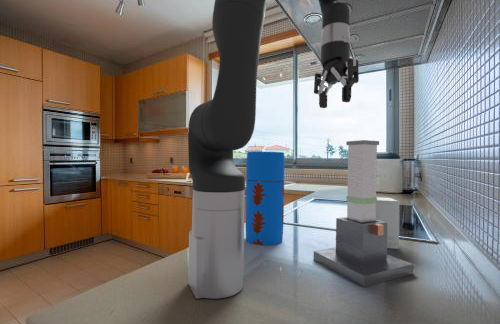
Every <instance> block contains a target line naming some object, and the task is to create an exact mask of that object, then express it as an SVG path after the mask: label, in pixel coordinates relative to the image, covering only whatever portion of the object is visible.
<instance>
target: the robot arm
mask: <svg viewBox="0 0 500 324" xmlns="http://www.w3.org/2000/svg"><path fill="white" fill-rule="evenodd" d="M317 2H318V4H319V8H320V12H321V17H322V18H321V19H322V20H321V22H322V23H321V27H322V28H321V36H320V37H321V38H320V64H321V65H322V71H321V72H320V73H319V72H315V73H314V81H313V82H314V83H313V85H314V87H313V94H315V95H318V104H319V106H318V107H319V108H321V109H326V108H328V92H329V91H330V89H332V87H333V85H336V84H338V83H341V86H342V87H341V102H342V103H350V102H351V100H352V87H353V86H354V84H358V83H359V81H360V80H359V77H360V75H359V60H358V59H355V58H353V57H351V55H350V51H351V50H350V49H351V46H350V45H351V34H350V33H351V32H350V8H349V6H348V4H346V2H340V1H339V2H338V0H317ZM213 5H214V6H213V12H212V18H211V19H212V21H211V22H212V34H213V37H214V42H215V44H216V48H217V52H218V56H219V57H218V58H219V68H218V73H217V80H216V84H215V89H214V93H213V98H212V99H210V100H208V101H205V102H202V103H201V104H199V105H197V106H195V108H194V109H193V111H192V112H191V114H190V117H189V119H188V121H189V122H188V127H187V131H188V132H187V150H188V152H187V153H188V155H187V157H188V170H189V174H190V176H191V180H192V211H191V212H192V213H191V215H192V217H191V220H192V221H191V222H192V223H191V230H188V231H189V232H188V269H187V272H188V274H187V275H188V277H187V283H188V285H189V287H190V289H191V291H192V293H193V295H194V297H195V299H203V298H204V299H214V300H215V299H225V298H229V297H233V296H235V295H236V294H238V293H239V292H241V291H242V289H244V288H243V287H244V276H245V271H244V267H245V265H244V259H245V258H244V256H245V255H244V254H245V206H246V176H245V175H244V173H243V172H242V171H241V170H240V169H239V168H238V167H237V166H236V164H235V161H234V151H237V150H240V149H243V148H244V147H245V146H247V145H248V144H249V142H250V140H251V138H252V137H253V134H254V131H255V124H256V115H257V114H256V112H257V83H258V80H257V79H258V78H257V77H258V66H259V59H260V51H261V50H260V49H261V41H262V35H263V29H264V23H265V16H266V15H265V14H266V8H267V0H214V4H213Z"/></svg>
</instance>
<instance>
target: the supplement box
mask: <svg viewBox="0 0 500 324" xmlns="http://www.w3.org/2000/svg"><path fill="white" fill-rule="evenodd" d="M376 198H377V203H376V220H379V221H384V222H388V223H387V249H395V250H399V249H400V204H401V203H400V200H396V199H394V198H391V197H377V196H376Z"/></svg>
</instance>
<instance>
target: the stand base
mask: <svg viewBox="0 0 500 324" xmlns="http://www.w3.org/2000/svg"><path fill="white" fill-rule="evenodd" d="M335 220H336V221H335V222H336V223H335V247H330V248H324V249H319V250H318V249H317V250H313V259H312V260H313V261H315V262H317V263H318V264H321V265H322V266H325V267H326V268H328V269H329V270H331V271H333V272H335V273H337V274H339V275H340V276H343V277H345V278H347V280H350V281H352V282H354V283H356V284H358V285H359V286H361V287H363V288H366V287H370V286H373V285H377V284H382V283H385V282H389V281H392V280H396V279H399V278H403V277H406V276H410V275H413V274H414V263H411V262H409V261H406V260H403V259H400V258H398V257H395V256H394V255H393V256H392V255H390V254H388V248H387V223H388V222H384V221H379V220H376V222H375V223H367V224H361V223H357V222H353V221H350V220H347V216H344V217H336V219H335Z"/></svg>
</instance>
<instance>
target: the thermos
mask: <svg viewBox="0 0 500 324" xmlns="http://www.w3.org/2000/svg"><path fill="white" fill-rule="evenodd" d="M245 170H246V175H245V239H246V242H248V243H250V244H253V245H257V246H258V245H259V246H276V245H279V244H281V243H282V242H283V239H284V237H283V236H284V221H285V220H284V217H285V215H284V212H285V209H284V208H285V207H284V205H285V153H284V152H280V151H247V153H246V169H245Z"/></svg>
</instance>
